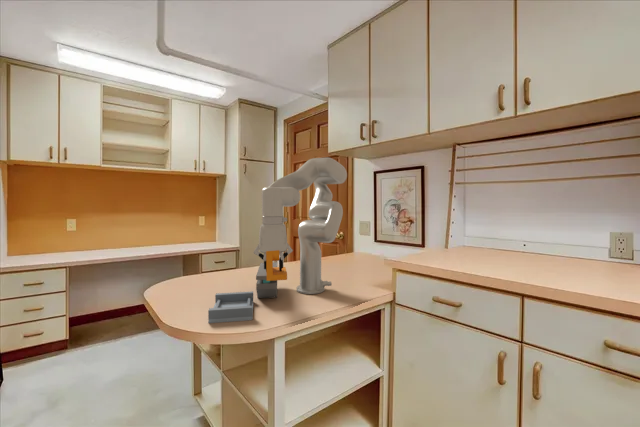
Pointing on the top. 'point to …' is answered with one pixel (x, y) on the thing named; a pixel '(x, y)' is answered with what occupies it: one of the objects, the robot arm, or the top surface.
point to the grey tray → (231, 307)
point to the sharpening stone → (265, 283)
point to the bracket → (271, 271)
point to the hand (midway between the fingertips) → (273, 270)
